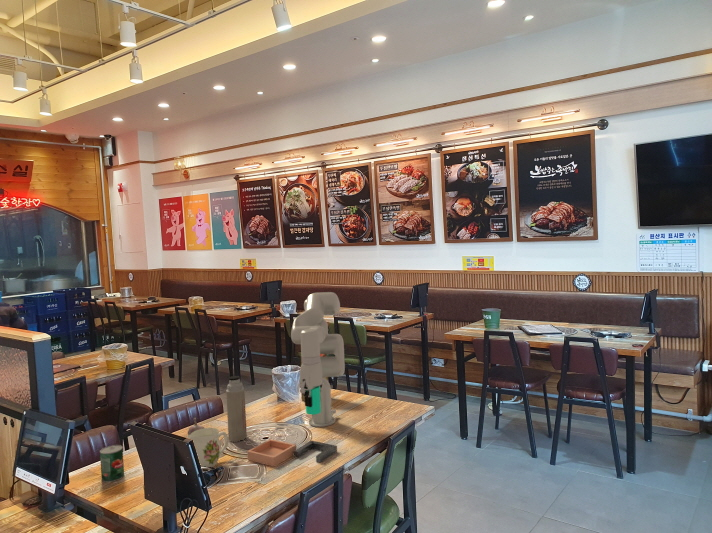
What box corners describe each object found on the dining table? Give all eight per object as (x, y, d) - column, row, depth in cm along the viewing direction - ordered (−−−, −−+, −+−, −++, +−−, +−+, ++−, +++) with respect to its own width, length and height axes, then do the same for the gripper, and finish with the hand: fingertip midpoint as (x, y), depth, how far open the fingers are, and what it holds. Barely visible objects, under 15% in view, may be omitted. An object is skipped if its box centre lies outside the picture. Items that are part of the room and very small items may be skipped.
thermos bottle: (249, 435, 232) (246, 374, 231) (242, 442, 224) (239, 379, 223) (233, 434, 234) (230, 374, 232) (225, 441, 226) (222, 379, 224)
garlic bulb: (184, 436, 234) (183, 419, 234) (196, 431, 241) (195, 414, 240) (196, 439, 231) (195, 421, 230) (208, 433, 237) (207, 416, 237)
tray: (270, 447, 218) (270, 439, 217) (296, 453, 210) (296, 444, 210) (247, 459, 206) (247, 451, 206) (274, 466, 198) (273, 457, 198)
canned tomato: (122, 480, 192) (120, 451, 191) (99, 483, 190) (97, 454, 189) (125, 471, 200) (124, 443, 199) (103, 474, 197) (101, 446, 197)
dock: (311, 446, 217) (311, 440, 217) (337, 451, 210) (336, 445, 210) (294, 456, 207) (293, 450, 206) (320, 463, 200) (320, 456, 200)
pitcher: (236, 460, 206) (234, 426, 205) (196, 476, 193) (194, 440, 192) (221, 453, 213) (219, 420, 213) (181, 468, 200) (179, 434, 199)
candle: (306, 410, 210) (304, 381, 210) (320, 409, 211) (319, 380, 210) (306, 415, 204) (304, 385, 204) (321, 414, 205) (319, 384, 204)
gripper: (315, 354, 215) (317, 396, 216) (290, 363, 201) (292, 409, 202) (330, 356, 211) (332, 399, 212) (305, 365, 197) (307, 412, 198)
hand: (312, 403), depth 207 cm, fingers closed on candle, 5 cm apart
